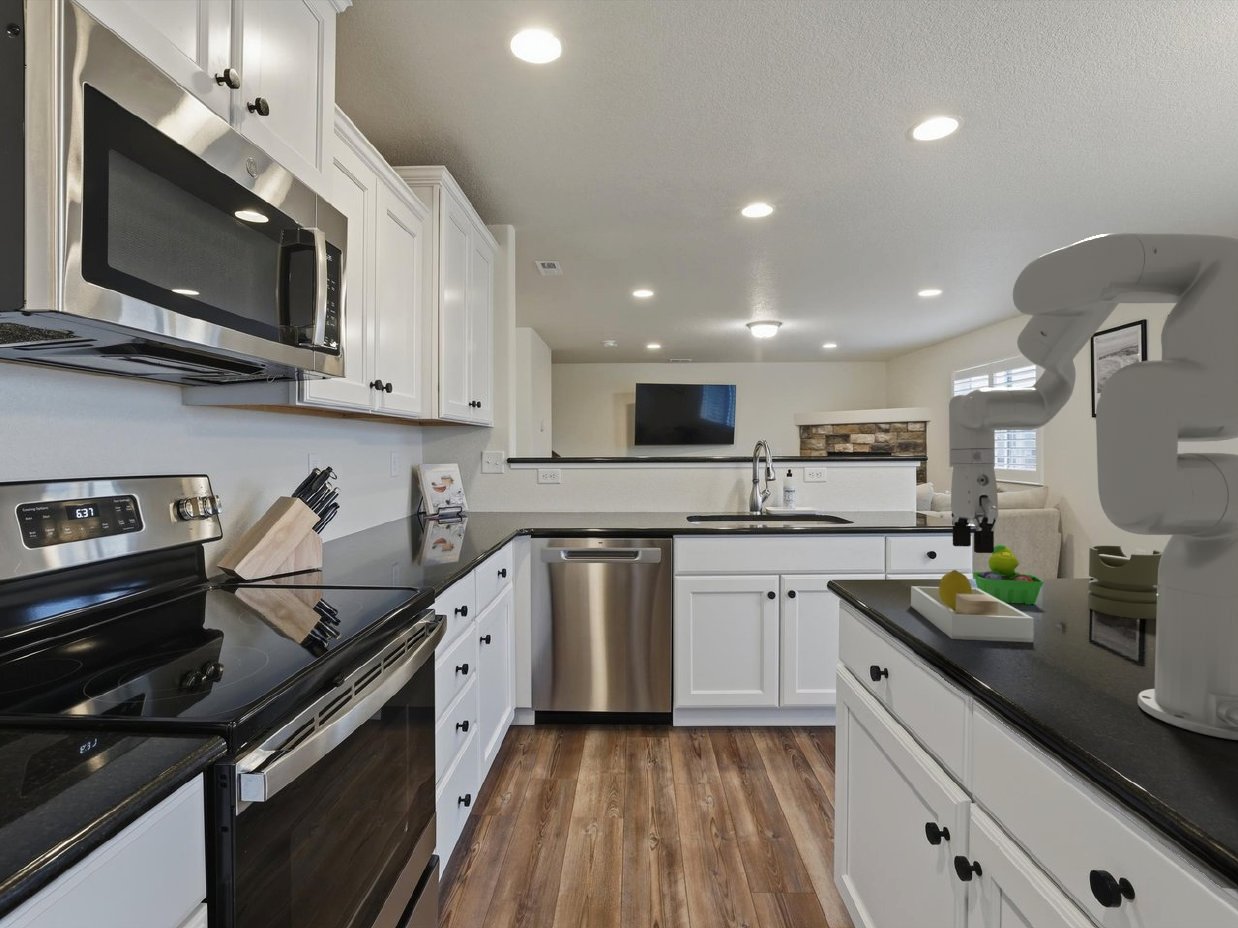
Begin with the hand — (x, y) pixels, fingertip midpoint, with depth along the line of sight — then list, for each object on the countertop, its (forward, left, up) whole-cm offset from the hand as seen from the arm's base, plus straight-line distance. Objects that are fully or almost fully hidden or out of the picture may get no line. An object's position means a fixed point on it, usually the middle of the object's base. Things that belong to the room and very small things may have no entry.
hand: (972, 549), depth 119 cm
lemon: (0, +3, -12) cm, 13 cm away
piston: (+8, -31, -13) cm, 35 cm away
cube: (-9, +3, -12) cm, 15 cm away
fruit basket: (+14, -12, -13) cm, 23 cm away
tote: (-5, +3, -13) cm, 14 cm away
